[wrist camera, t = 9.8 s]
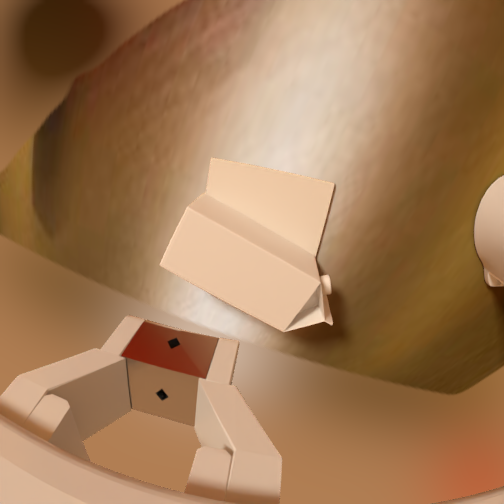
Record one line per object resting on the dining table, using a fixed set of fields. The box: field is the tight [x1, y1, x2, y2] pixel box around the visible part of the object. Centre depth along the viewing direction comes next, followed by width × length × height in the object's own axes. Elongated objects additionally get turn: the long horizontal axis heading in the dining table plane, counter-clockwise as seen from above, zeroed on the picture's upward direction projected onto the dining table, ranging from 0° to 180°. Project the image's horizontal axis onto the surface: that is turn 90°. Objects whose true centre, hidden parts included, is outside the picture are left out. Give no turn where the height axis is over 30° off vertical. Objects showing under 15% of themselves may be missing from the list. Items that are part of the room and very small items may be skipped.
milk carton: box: [160, 193, 333, 332], centre depth 36 cm, size 7×7×19 cm
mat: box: [206, 158, 335, 257], centre depth 38 cm, size 14×13×1 cm
